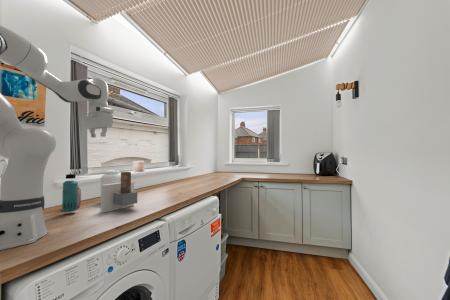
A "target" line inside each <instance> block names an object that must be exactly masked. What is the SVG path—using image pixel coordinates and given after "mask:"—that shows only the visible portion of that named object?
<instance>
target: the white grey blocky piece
mask: <svg viewBox="0 0 450 300" xmlns="http://www.w3.org/2000/svg"><path fill="white" fill-rule="evenodd" d="M134 204H138V191H135V182H134V181H131V193H125V194H123V193H121V183H114V184H105V185H101V184H100V213H106V212H111V211H115V210H121V209H124V208H129V207H133V206H135V205H134Z"/></svg>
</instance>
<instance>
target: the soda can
mask: <svg viewBox="0 0 450 300" xmlns="http://www.w3.org/2000/svg"><path fill="white" fill-rule="evenodd" d="M77 196H78V197H77V207H78V208H77V209H79V208H80V207H81V201H82V199H81V198H82V189H81V187H80V185H78V192H77Z"/></svg>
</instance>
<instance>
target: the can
mask: <svg viewBox="0 0 450 300" xmlns="http://www.w3.org/2000/svg"><path fill="white" fill-rule="evenodd" d="M114 183H121V171H120V170H119V169H117V170H116V169H115V170H114V169H113V170H105V171H104V174H102V175H101V177H100V186H101V185H105V184H114Z"/></svg>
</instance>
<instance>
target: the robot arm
mask: <svg viewBox="0 0 450 300" xmlns="http://www.w3.org/2000/svg"><path fill="white" fill-rule="evenodd" d="M0 60H2V62H5V63H7V64H8V65H10V66H11V67H14V68H15V69H17V70H19V71H21V72H22V73H24V74H25V75H26V76H28V77H29V78H31V79H32V80H33V81H35V82H37V83H39V84H40V85H42V86H43V87H45V88H46V89H48V90H50V91H52V92H53V94H55V95H56V96H57V97H58V98H59V99H61V100H62V101H63V102H65V103H68V104H71V103H73V104H74V103H77V102H83V101H84V102H85V101H88V114H87V115H86V116H85V125H84V128H85V129H86V130H89V133H90V138H96V137H97V134H96V132H95V131H96V130H98V129H99V130H100V129H101V132H100V137H106V134H107V132H108V128H112V127H113V123H114V122H113V121H114V116H113V113H114V109H113V108H110V107H109V103H108V100H109V87H108V84H107V83H108V82H106V81H105V79H104V80H103V79H102V78H98V77H92V78H89V79H77V80H70V81H68V80H67V81H65V80H61V79H60V78H57V76H55V75H53V74H52V73H50V72H49V71H48V70H47V67H48V61H49V60H48V57H47V55H46V53H45V51H43V50H42V49H41V48H39V46H37V45H36V44H35V43H32V42H31V41H29V40H28V39H26V38H25V37H23V36H21V35H20V34H18V33H16V32H14V31H13V30H10V29H9V28H7V27H4V26H3V25H0ZM56 147H57V141H56V138H55V136H54V135H53V134H52V133H51V132H49V131H47V130H44V129H41V128H35V127H27V128H26V127H25V126H23V124H22V123H21V121H20V120H19V118H18V116H17V113H16V108H15V107H14V106H13V104H12V103H10V101H8V99H7V98H6V97H5V96H4V95H3V94H2V93H1V92H0V156H1V157H3V158H6V159H8V161H7V164H6V167H5V169H4V172H3V173H2V175H1V177H0V251H2V250H6V249H11V248H15V247H19V246H23V245H28V244H33V243H34V242H36V241H37V240H39V239H40V238H42V237H45V236H46V235H47V234H48V229H47V226H46V224H45V217H44V216H45V215H44V210H45V204H46V203H45V196H44V175H45V170H46V167H47V164H48V161H49V158H50V156H51V155H52V154H53V152H54V151H55V150H56Z"/></svg>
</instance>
